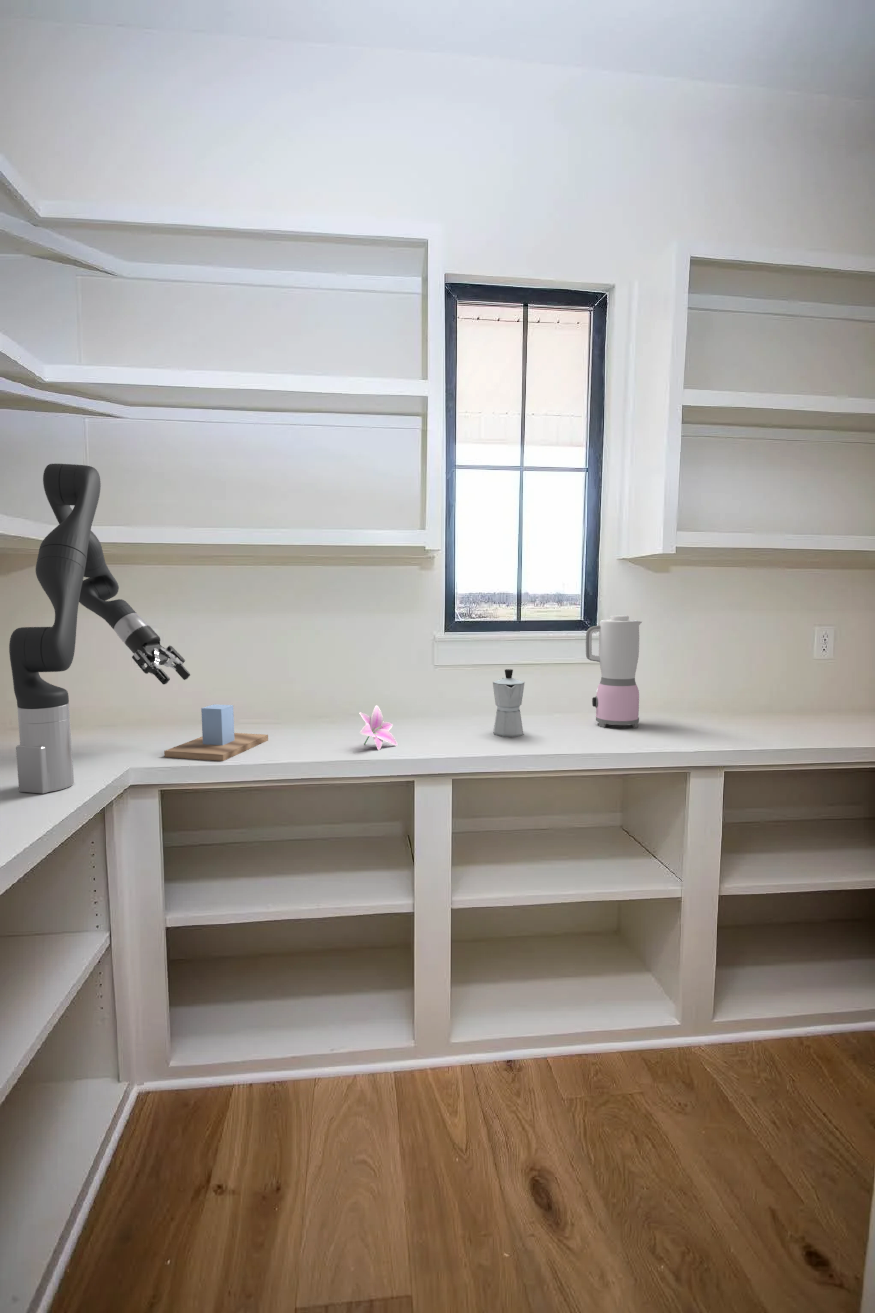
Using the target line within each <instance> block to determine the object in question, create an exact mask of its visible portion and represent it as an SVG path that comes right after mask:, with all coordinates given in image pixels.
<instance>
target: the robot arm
mask: <svg viewBox="0 0 875 1313" xmlns="http://www.w3.org/2000/svg"><path fill="white" fill-rule="evenodd" d="M101 484H102V483H101V476H100V473H99V471H98V469H96V468H95V467H93V466H92V465H91V466H90V465H85V464H76V463H75V464H73V463H72V464H71V463H49V464H48V465H46V467H45V468H44V470H43V475H42V485H43V490H44V493H45V496H46V498H47V501H48V504H49V505H50V508H51V510H52V512H53V514H54V516H55V519H56V520H57V523H58V525H57V526H56V527H55V528H54V529H52V530H51V531H49V533H48V534H47V535H46V537H44V538H43V540H42V541H41V543H40V545H39V549H38V554H37V559H36V564H35V575H36V578H37V581H38V582H39V584H40V586H41V588H42V589H43V591H44V593H45V594H46V596H47V597H48V599H49V600H50V603H51V604H52V607H53V610H54V623H53V625H52V626H24V627H18V628H16V629H15V630H13V631H12V632H11V635H10V638H9V644H8V645H9V646H8V650H9V651H8V652H9V661H10V667H11V676H12V685H13V692H14V695H15V699H16V703H17V704H16V706H17V721H18V724H17V725H18V734H19V735H18V737H19V744H18V745H17V744H16V746H15V753H16V766H17V779H18V780H17V781H18V792H21V793H31V794H46V793H49V792H55V791H61V790H64V789H67V788H69V787H72V786H73V785H74V784H75V779H74V778H75V777H74V764H73V763H74V760H73V748H72V747H73V745H72V729H71V717H70V716H71V715H70V703H69V702H70V700H69V692H68V690H67V689H65V688H63V687H61V686H57V685H54V684H52V683H49V682H48V681H46V680H44V679H43V678H42V677H41V676H40V673H57V672H65V671H67V670H69V669H70V668H71V666H72V664H73V662H74V657H75V651H76V650H75V649H76V640H77V624H78V613H79V612H78V611H79V604H80V605H81V606H83V607H85V608H86V609H87V610H89V611H90V612H93V613H94V614H95V615H97V616H99V617H100V618H102V619H103V620H104V621H105V622H106V623H107V624H108V625H109V626H110V627H111V628H112V629H113V630H114V632H115V633H116V635H117V636H118V638H119V639H120V640H121V641H122V642H123V643H124V645H125V646H126V647H127V648H128V649H129V650H130V651H131V652H132V653H133V655H132V656H131V658H132V660H133V661H134V663H135V664H137V666H138V667H139V668H140V669H141V671H142V672H143V673H144V674H146V675H147V674H149V673H150V674H151V675H152V676H155V678H156V679H157V680H158V681H159V682H160V683H161V684H162V685H167V684H168V683H169V682H170V679H171V678H170V677H169V676H168V674H167V673H166V672H165V671H164V670H163V669H162V668H161V666H164V667H166V668H169V667H170V668H171V669H173V670H175V672H176V674H178V675H179V676H180V678H181V679H182V680H184V681H186V680H188V679H189V678H190V676H191V673H190V672H189V670H188V669H187V668H186V667H185V666H184V663H185V662H186V659H184V657H183V656H182V655H181V654H180V653H179V652H178V651H177V650H176V649H175V647H174V646H172V645H168V646H167V647H164V646H162V645H161V636H159V635H158V633H157V632H155V630H154V629H153V628H152V627H151V626H150V625H149V623H148V622H147V621H146V620H145V619H144V618H143V617H142V616H141V615H139V614H138V613H137V612H136V610H135V609H133V607H132V606H131V605H130V604H129V603H128V602H127V601H126V600H124V599H120V598H118V599H115V600H113V599H112V598H114V597H116V595H117V594H118V592H119V589H120V586H119V583H118V582H117V580H116V578H115V576H114V575H113V574H112V572H111V570H110V568H109V567H108V565H107V563H106V559H105V555H104V550H103V546H102V544H101V541H100V540H99V538H98V536H97V535H96V534H95V533H94V532H93V531H92V526H93V521H94V519H95V516H96V515H95V514H96V512H97V508H98V504H99V500H100V495H101V486H102V485H101ZM71 506H73V509H72V507H71ZM84 578H86V579H84ZM110 599H112V600H110ZM145 665H146V666H145Z"/></svg>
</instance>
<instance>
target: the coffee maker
mask: <svg viewBox="0 0 875 1313" xmlns="http://www.w3.org/2000/svg"><path fill="white" fill-rule="evenodd" d="M513 673H514V669H511V668H509V669H508V668H507V669H504V675H505V677H502V678H501V679H497V680H494V681H492V687H493V688H492V689H493V695H494V702H495V706H496V707H497V708H496V710H495V711H496V712H495V719H494V725H493V731H492V732H493V735H494V736H499V737H503V738H509V737H510V738H512V737H513V738H516V737H519V736H523V735H524V728H523V721H522V715H521V709H520V706H521V705H522V704H523V695H524V689H525V683H526V682H525V681H523V680H519V679H516V678H513Z"/></svg>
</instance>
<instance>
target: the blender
mask: <svg viewBox="0 0 875 1313" xmlns="http://www.w3.org/2000/svg"><path fill="white" fill-rule="evenodd" d="M629 618H630V617H629V615H621V614H620V615H617V614H616V615H610V618H609V619H602V620H600V621H599V625H593V626H590V627H589V628H588V629H587V630H586V633H585V656H586V659H587V660H589V661H590V662H591V661H592V662H599V668H600V675H601V676H600V681H599V683H598V685H597V688H596V691H595V693H596V695H595V696H593V697H592V698H591V699H592V700H591V702H592V703H591V704H592V707H595V721H596V722H597V723H598V725H599V728H606V725H610V726H611V725H612V726H631V725H632V728H633V729H636V728H638V726H639V723H640V717H639V714H640V713H639V711H640V710H639V709H640V690H639V688H638V685H637V682H636V672H637V669H638V668H637V667H638V662H639V661H638V660H639V654H640V653H639V652H640V625H641V624H642V622H643V621H639V620H635V619H629ZM597 632H598V655H595V654H593V652H592V650H593V649H592V645H593V644H592V643H593V642H592V640H593V637H592V636H593V633H597Z"/></svg>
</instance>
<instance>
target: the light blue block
mask: <svg viewBox="0 0 875 1313" xmlns="http://www.w3.org/2000/svg"><path fill="white" fill-rule="evenodd" d="M200 710H201V728H202V729H201V733H202V734H201V737H202V736H203V744H208V745H225V744H227V743H229V742H232V741H234V733H235V719H234V716H235V715H234V705H232V704H216V703H215V704H211V705H207V706H205V707H201V708H200Z"/></svg>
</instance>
